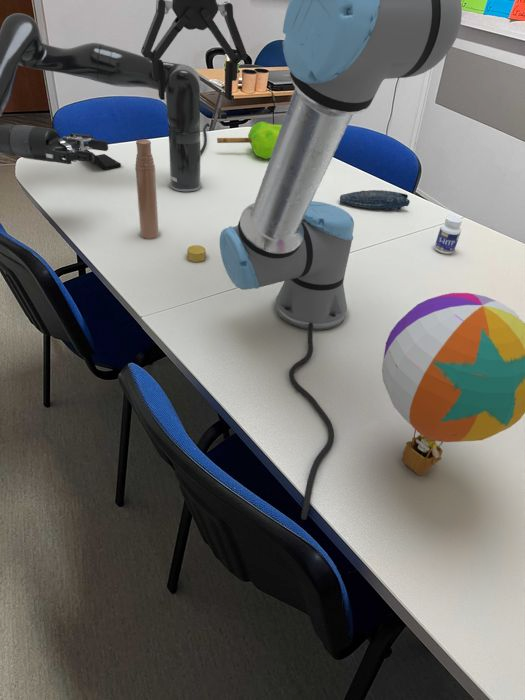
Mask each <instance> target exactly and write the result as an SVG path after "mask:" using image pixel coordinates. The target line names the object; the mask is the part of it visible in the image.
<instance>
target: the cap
mask: <svg viewBox="0 0 525 700" xmlns="http://www.w3.org/2000/svg"><path fill="white" fill-rule="evenodd" d="M186 257H187V260H188V261H190V262H194V263H201V262H203V261H205V260H206V257H207V250H206V248H205V247H204V246H202V245H199V244H194V245H189V246H188V247H187V249H186Z"/></svg>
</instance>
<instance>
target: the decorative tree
mask: <svg viewBox="0 0 525 700" xmlns="http://www.w3.org/2000/svg"><path fill="white" fill-rule="evenodd" d="M281 127H282V124H272V123H269V122H266V121H259V122H257V123H254V124H253V125H251V128H250V129H249V132H248V134H247V137H217V138H216V142H217V144H236V143H237V144H240V143H241V144H245V143H247V144H250V146H251V148H252V150H253V152H254V154H255V155H256V156H257V157H260V158H261V159H264V160H268V159H270V158H271V155H272V152H273V149H274V147H275V144H276V141H277V138H278V135H279V132H280V129H281Z"/></svg>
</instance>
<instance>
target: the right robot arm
mask: <svg viewBox="0 0 525 700" xmlns="http://www.w3.org/2000/svg"><path fill="white" fill-rule="evenodd" d="M155 2H156V3H155V13H154V15H153V18H152V21H151V23H150V25H149V28H148V31H147V34H146V36H145V39H144V41H143V44H142V47H141V49H140V53H141V56H143V57H146V58H149V59H151V62H152V76H153V78H154V80H158V90H157V91H158V97H159V99H160V100H162V101H165V100H166V93H165V92H164V68H163V62H164V61H163V60H162V59H161V58H162V57H163V55H164V54H165V53H166V51H167V50H168V49H169V47H170V45H171V44H172V43H173V41H174V40H175V39H176V37H177V36H178V35H179V33H180V32H181V31H183V29H184V28H185V29H186V30H189V31H193V30H196V29H197V30H198V31H205V30H206V29H208V30H209V31H210V33H211V34H212V35H213V37H214V38H215V40H216V42H217V43H218V44H219V46H220V47H221V49H222V51H224V53H225V54H226V57H228V59H229V60H225V70H224V71H225V72H224V75H225V76H224V97H225V98H226V99H227V100H228V101H229V100H230V101H231V100H233V82H236V81H237V79H238V67H239V66H238V65H239V64H240V62H241V61H246V60H247V59H248V53H247V50H246V48H245V45H244V42H243V39H242V36H241V34H240V31H239V28H238V26H237V24H236V20H235V18H234V5H233V3H231V2H229V1H224V2H221V3H217V0H172V1H171V0H156V1H155ZM462 9H463V8H462V0H289V2H288V5H287V7H286V11H285V15H284V19H283V27H282V33H283V34H285V38H284V39H283V41H282V51H283V56H284V61H285V63H286V66H287V68H288V75H289V78H290V82H291V83H292V85H293V87H294V90H293V92H292V96H291V98H290V101H289V104H288V107H287V110H286V113H285V115H284V118H283V120H282V121H283V122H282V124H281V125H282V127H281V129H280V132H279V135H278V138H277V141H276V144H275V147H274V149H273V152H272V155H271V158H269V161H268V164H267V167H266V170H265V172H264V175H263V178H262V181H261V183H260V185H259V189H258V193H257V195H256V198H255V200H254V202H253V203H251V204H249V205H247V206H246V207H245V208H244V209H243V210H242V212H241V215H240V218H239V220H238V223H237V225H236V226H230V225H229V226H228V227H226V228H224V229H222V231H221V232H220V235H219V250H220V256H221V260H222V264H223V267H224V269H225V272H226V274H227V276H228V279H230V281H231V283H232V284H233V285H234V286H235V287H236V288H238V289H240V290H245V291H246V290H251V289H260V288H262V287H266V286H271V285H274V284H279V283H282V282H283V283H282V285H281V287H280V290H279V291H278V294H277V296H276V300H275V311H276V313H277V315H278V316H279V317H280V318H281V319H282V320H283V321H284V322H286V323H287V324H289V325H291V326H293V327H296V328H300V329H304V330H307V331H308V332H307V347H308V349H307V352H306V355H305V356H304V357H303V358H302V359H300V360H299V361H297V362H296V363H294V364H293V365H292V366H291V367H290V369H289V372H288V378H289V381H290V383H291V385H292V386H293V387H294V388H295V389H296V391H298V392H299V393H300V394H301V395H302V396H303V397H304V398H306V400H307V401H309V402H310V404H311V405H312V406H313V408H314V410H315V411H316V412H317V413H318V415H319V416H320V417H321V419H322V420H323V422H324V423H325V426H326V428H327V431H328V437H327V442H326V444H325V445H324V446H323V448H322V449H321V450H320V451H319V453H318V454H317V455H316V457H315V459H314V460H313V463H312V465H311V468H310V470H309V473H308V477H307V482H306V486H305V491H304V496H303V501H302V507H301V513H300V518H301V520H302V521H306V520H307V519H308V515H309V509H310V503H311V498H312V493H313V487H314V482H315V479H316V475H317V471H318V469H319V466H320V464H321V462H322V461H323V459H324V458H325V456H326V455H327V453H328V452H329V451H330V450H331V448H332V446H333V444H334V442H335V441H334V440H335V430H334V426H333V424H332V421H331V419H330V418H329V416H328V415H327V414H326V412H325V411H324V410H323V408H322V407H321V406H320V404H319V402H317V400H316V399H315V397H314V396H312V394H310V393H309V392H308V391H307V390H306V389H305V388H303V387H302V386H301V385H300V383H298V382H297V380H296V378H295V372H296V371H297V370H298V369H299V368H300V367H302V366H303V365H305V364H306V363H307V362H308V361H309V360H310V359H311V357H312V355H313V352H314V343H313V342H314V339H313V335H314V331H324V330H325V331H326V330H329V329H333V328H336V327H337V326H339V325H340V324H342V323H343V322H344V320H345V318H346V315H347V310H348V305H347V297H346V292H345V286H344V280H345V275H346V271H347V267H348V262H349V257H350V253H351V247H352V244H353V243H352V242H353V240H354V235H353V234H354V228H355V221H354V218H353V217H352V216H351V214H350V213H349V212H347V211H346V210H345V209H343V208H341V207H339V206H336V205H334V204H330V203H327V202H322V201H317V200H316V201H314V200H313V199H314V197H315V195H316V193H317V191H318V189H319V187H320V185H321V183H322V181H323V179H324V176H325V174H326V172H327V170H328V167H329V166H330V164H331V162H332V159H333V157H334V155H335V153H336V151H337V149H338V147H339V145H340V143H341V141H342V139H343V137H344V134H345V132H346V130H347V128H348V126H349V125H350V122H351V120H352V117H353V116H354V115H356V114H359V113H362V112H365V111H366V110H367V109H369V107H370V106H371V104H372V102H373V100H374V99H375V97H376V95H377V93H378V91H379V89H380V86H381V84H382V82H383V81H385V80H387V79H388V80H390V79H406V78H407V79H408V78H412V77H416V76H419V75H422V74H425V73H426V72H429V71H430V70H431V69H433V68H434V67H436V66H437V65H438V64H439V63H440V62H441V61H442V60H443V59H445V57H446V56H447V54H448V53H449V52H450V51H451V49H452V47H453V45H454V44H455V42H456V40H457V37H458V35H459V31H460V29H461V23H462V15H463V14H462V13H463V11H462ZM170 10H172V11H173V13H174V14H175V16H176V17H175V18H174V20H173V21H172V23H171V25H170V26H169V28H168V29H167V30H166V32H165V34H164V35H163V36H162V38H161V39H160V41H159V42H158V43H157V45H156V46H155V47H154V45H155V42H156V40H157V37H158V34H159V31H160V29H161V26H162V24H163V22H164V18H165V15H168V14H169V11H170ZM218 12H219V13H220V15H221V16H222V17H223V18H224V22H225V24H226V26H227V29H228V32H229V34H230V38H231V40H232V42H233V45H234V47H235V50H236V52H235V51H234V50H233V48H232V47H231V45H230V44H229V42H228V40H227V39H226V37H225V36H224V34H223V33H222V32H221V30H220V28H219V26H218V25H217V24H216V22H215V21H214V18H215V17H216V15H217V14H218ZM153 47H154V49H153ZM152 49H153V50H152ZM162 61H163V62H162Z"/></svg>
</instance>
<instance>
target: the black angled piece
mask: <svg viewBox="0 0 525 700" xmlns="http://www.w3.org/2000/svg"><path fill="white" fill-rule="evenodd" d="M79 148H80V145H79ZM85 151H88V152H91V151H90V150H85ZM93 154H94V161H93V162H92V163H93V164H96V165H97V166H98V167H99V168H102V169H103V170H111V169H115V168H116V169H117V168H121V167H122V164H121V163H120V162H119V161H117V160H116V159H114V158H112V157H110V156H109V155H107V154H105V153H102V154H95V153H93Z"/></svg>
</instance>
